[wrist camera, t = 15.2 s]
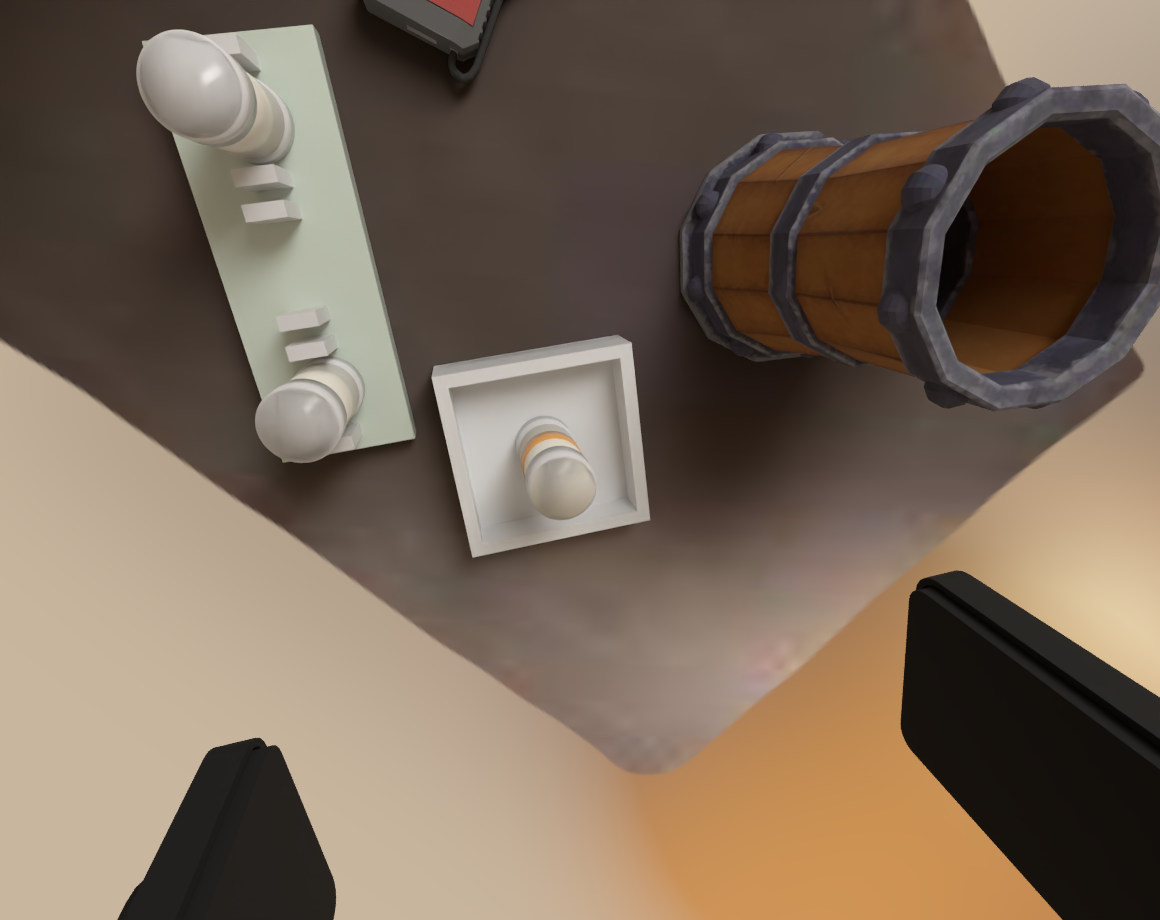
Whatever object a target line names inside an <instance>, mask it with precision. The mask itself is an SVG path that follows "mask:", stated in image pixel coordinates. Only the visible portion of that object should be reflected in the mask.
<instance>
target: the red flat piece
mask: <svg viewBox="0 0 1160 920" xmlns="http://www.w3.org/2000/svg"><path fill="white" fill-rule="evenodd" d="M363 1H364V4H365V6H366V9H367V11H368V12H370V13H371V14H373V15H375V16H377V17H379V18H381V19H383V20H385V21H387V22H388V23H390V24H392V25H394V26H396V27H398V28H400V29H402V30H404V31H405V32H407V33H409V34H411V35H413V36H415V37H417V38H419V39H421V40H422V41H424V42H426V43H428V44H430V45H432V46H434V47H436V48H438V49H439V50H441V51H443V52H445V53H447V54H449V58H448V67H449V71H450V74H451V76H453V77H454V78H455V79H456V80H457V81H458V82H459V83H464V84H466V83H469V82H471V81H472V80H474V78H475V77H476V75H477V74H478V72H479V70H480V67H481V64H482V61H483V58H484V55H485V52H486V49H487V46H488V43H489V40H490V37H491V34H492V31H493V28H494V25H495V22H496V19H497V16H498V13H499V10H500V8H501V5H502V2H503V0H363ZM489 14H490V15H489ZM482 36H483V37H482ZM478 48H479V49H478ZM474 56H476V58H475V61H474V64H473V66H472V68H471V69H470V71H469V72H468V73H466V74H462V73H461V72H460V71H458V70H457V68H456V66H455V65H456V59H458V60H460V61H462V62H463V61H465V60H467V59H470V58H472V57H474Z"/></svg>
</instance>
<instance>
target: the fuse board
mask: <svg viewBox="0 0 1160 920" xmlns="http://www.w3.org/2000/svg"><path fill="white" fill-rule="evenodd" d="M203 36H205V37H207V38H209V39H210V40H212V41H213V42H215V43H216V44H217V45H218V46H220V47H221V48H222V49H223V50H224V51H226V52H227V53H228V54H229V55H230V56H232V57H233V58H234V59H235V60H236V61H237V62H238V63H239V64H240V65H241V66H242V67H243V69H244V70H245V71H246V72H248V73H249V74H250V75H251V76H252V77H254V78H256V79H258V80H260V81H261V82H263V83H264V84H266V85H267V86H268V87H269V88H270V89H272V90H273V91H274V92H275V93H276V94H278V95H279V96H280V97H281V98H282V99H283V101H284V102H285V103H286V105H287V106H288V108H289V110H290V112H291V114H292V117H293V120H294V125H295V137H294V142H293V145H292V147H291V149H290V151H289V152H288V154H287V155H286V156H285V157H284V158H283V159H281V160H280V161H278V162H276V163H273V164H268V165H255V164H251V163H248V162H245V161H243V160H240V159H237V158H235V157H233V156H231V155H229V154H228V153H226V152H225V151H223V150H220V149H218V148H215V147H210V146H205V145H202V144H199V143H196V142H194V141H191V140H188V139H186V138H183V137H181V136H179V135H177V134H175V133H173V132H172V133H173V136H174V139H175V142H176V145H177V148H178V151H179V154H180V157H181V160H182V163H183V166H184V169H185V172H186V175H187V178H188V181H189V184H190V187H191V190H192V193H193V196H194V199H195V202H196V205H197V208H198V211H199V214H200V217H201V220H202V223H203V226H204V229H205V232H206V235H207V238H208V241H209V244H210V247H211V250H212V253H213V256H214V259H215V262H216V265H217V268H218V271H219V274H220V277H221V280H222V283H223V286H224V289H225V291H226V294H227V297H228V300H229V303H230V306H231V309H232V312H233V315H234V318H235V321H236V324H237V327H238V330H239V333H240V336H241V339H242V342H243V345H244V348H245V351H246V354H247V357H248V360H249V363H250V366H251V369H252V372H253V375H254V378H255V381H256V384H257V387H258V390H259V393H260V396H261V399H262V400H263V399H264V398H265V397H266V396H267V395H268V394H269V393H270V392H272V391H273V390H274V389H275V388H277V387H278V386H279V385H281V384H283V383H285V382H287V381H289V380H290V379H292V378H293V377H294V376H295V374H296V373H297V372H298V371H299V370H300V369H301V368H302V367H303V366H305V365H306V364H307V363H309V362H310V361H312V360H314V359H316V358H319V357H324V356H333V357H338V358H341V359H344V360H346V361H348V362H349V363H351V364H352V365H353V366H354V367H355V368H356V369H357V370H358V371H359V373H360V374H361V376H362V378H363V380H364V384H365V396H364V400H363V402H362V404H361V406H360V407H359V409H358V411H357V412H356V414H355V415H354V416H353V417H352V418H351V419H350V420H349V422H348V423H347V425H346V429H345V431H344V433H343V435H342V437H341V439H340V440H339V442H338V444H337V445H336V447H335V448H334V449H333V450H332V451H331V452H330V453H329V454H334V453H339V452H345V451H350V450H355V449H361V448H366V447H372V446H377V445H382V444H388V443H393V442H399V441H404V440H410V439H415V436H416V428H415V423H414V419H413V415H412V411H411V407H410V403H409V399H408V395H407V391H406V387H405V383H404V379H403V375H402V370H401V366H400V362H399V358H398V354H397V350H396V346H395V342H394V338H393V334H392V330H391V326H390V322H389V317H388V313H387V309H386V305H385V301H384V297H383V293H382V289H381V285H380V281H379V277H378V273H377V269H376V264H375V260H374V256H373V252H372V248H371V244H370V240H369V236H368V232H367V228H366V224H365V220H364V216H363V211H362V207H361V203H360V199H359V195H358V191H357V187H356V183H355V179H354V175H353V171H352V167H351V162H350V158H349V154H348V150H347V146H346V142H345V138H344V134H343V130H342V126H341V122H340V118H339V114H338V109H337V105H336V101H335V97H334V93H333V89H332V85H331V81H330V77H329V73H328V69H327V65H326V61H325V56H324V52H323V48H322V44H321V40H320V36H319V33H318V32H317V30H316V29H315V27H314V26H313V25H303V26H293V27H283V28H273V29H262V30H252V31H242V32H231V33H221V34H211V35H203ZM147 42H148V41H142V44H143V47H144V46H145V45H146V43H147ZM281 459H282V458H281ZM282 462H283V463H285V462H290V461H287V460H284V459H282Z"/></svg>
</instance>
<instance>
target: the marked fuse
mask: <svg viewBox="0 0 1160 920" xmlns="http://www.w3.org/2000/svg"><path fill="white" fill-rule="evenodd" d="M515 448H516V452H517V456H518V459H519V462H520V464H521V467H522V471H523V474H524V478H525V485H526V488H527V492H528V496H529V499H530V502H531V504H532V506H533V507H534V508H535V510H536V511H537V512H539V513H540V514H541V515H543V516H545V517H547V518H549V519H553V520H568V519H572V518H574V517H577V516H579V515H580V514H582V513H583V512H584V511H586V510H587V509H588V508H589V506H590V505H591V504H592V502H593V500H594V498H595V496H596V492H597V479H596V476H595V473H594V471H593V469H592V468H591V466H590V464H589V463H588V461H587V459H586V458H585V457H584V456H583V455H582V453H581V451H580V449H579V447H578V446H577V444H576V443H575V440H574V438H573V436H572V434H571V432H570V431H569V429H568V427H567V426H566V425H565V424H564V423H563V422H562V421H561V420H559V419H557V418H555V417H551V416H538V417H535V418H532V419H530V420H528V421H527V422H526V423H525V424H524V425H523V426H522V427H521V428H520V430H519V431H518V433H517V436H516V440H515Z"/></svg>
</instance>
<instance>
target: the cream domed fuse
mask: <svg viewBox="0 0 1160 920" xmlns="http://www.w3.org/2000/svg"><path fill="white" fill-rule="evenodd" d="M136 73H137V83H138V88H139V91H140V94H141V97H142V99H143V101H144V103H145V105H146V107H147V108H148V109H149V111H150V112H151V114H152V115H153V116H154V117H155V118H156V120H158V121H159V122H160V123H161V124H162V125H163V126H164V127H166V128H167V129H168V130H170V131H171V132H173V133H175V134H177V135H179V136H181V137H183V138H186V139H188V140H191V141H194V142H196V143H199V144H202V145H205V146H210V147H215V148H218V149H220V150H223V151H225V152H226V153H228V154H229V155H231V156H233V157H235V158H237V159H240V160H243V161H245V162H248V163H251V164H255V165H268V164H273V163H276V162H278V161H280V160H281V159H283V158H284V157H285V156H286V155H287V154H288V152H289V151H290V149H291V147H292V145H293V142H294V137H295V125H294V120H293V117H292V114H291V112H290V110H289V108H288V106H287V105H286V103H285V102H284V101H283V99H282V98H281V97H280V96H279V95H278V94H276V93H275V92H274V91H273V90H272V89H270V88H269V87H268V86H267V85H266V84H264V83H263V82H261V81H260V80H258V79H256V78H254V77H252V76H251V75H250V74H249V73H248V72H246V71H245V70H244V69H243V67H242V66H241V65H240V64H239V63H238V62H237V61H236V60H235V59H234V58H233V57H232V56H230V55H229V54H228V53H227V52H226V51H224V50H223V49H222V48H221V47H220V46H218V45H217V44H216V43H215V42H213V41H212V40H210V39H209V38H207V37H205V36H203V35H201V34H198V33H195V32H192V31H188V30H169V31H165V32H162V33H160V34H158V35H156V36H154V37H153V38H152V39H150V40H149V41H148V42H147V43H146V45H145V46H144V48H143V49H142V51H141V53H140V55H139V58H138V62H137V70H136Z"/></svg>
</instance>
